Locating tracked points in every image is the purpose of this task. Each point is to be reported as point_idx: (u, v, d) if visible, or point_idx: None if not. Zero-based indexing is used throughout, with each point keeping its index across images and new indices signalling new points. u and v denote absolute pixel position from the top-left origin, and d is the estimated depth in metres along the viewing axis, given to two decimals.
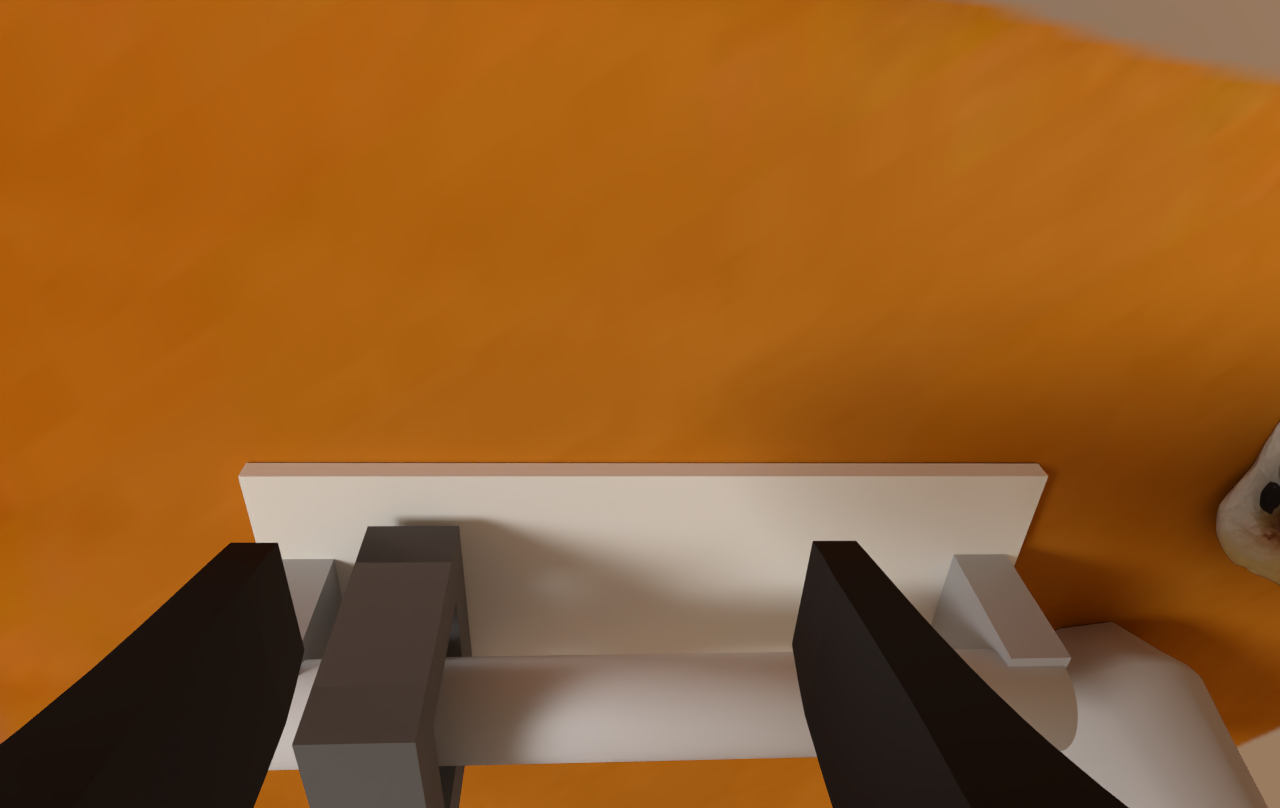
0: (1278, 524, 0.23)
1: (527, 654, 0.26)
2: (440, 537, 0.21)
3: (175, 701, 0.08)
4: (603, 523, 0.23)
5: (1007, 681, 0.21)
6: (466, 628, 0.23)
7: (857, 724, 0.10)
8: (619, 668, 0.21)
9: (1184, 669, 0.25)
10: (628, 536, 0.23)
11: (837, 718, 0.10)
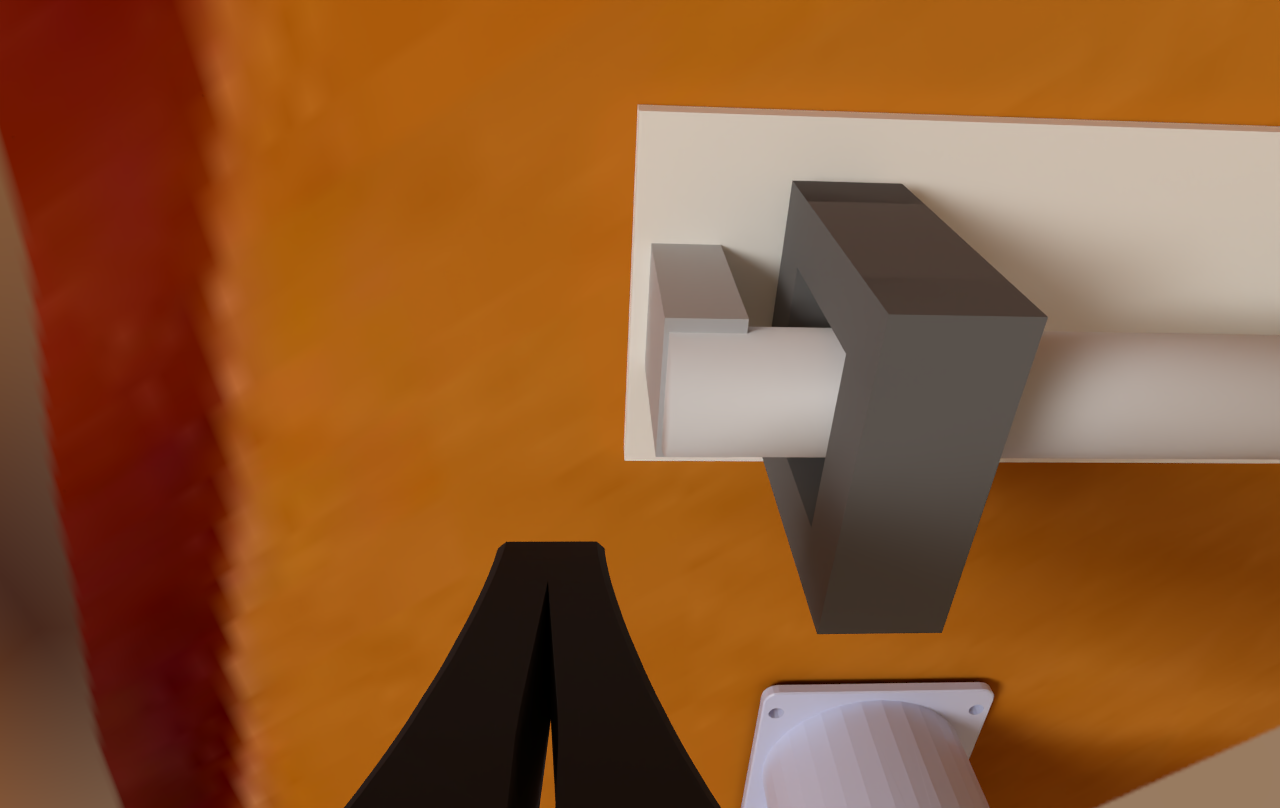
0: None
1: None
2: (889, 189, 0.17)
3: (527, 695, 0.08)
4: (1055, 199, 0.19)
5: None
6: None
7: (555, 730, 0.09)
8: None
9: None
10: (1079, 220, 0.19)
11: (553, 723, 0.10)
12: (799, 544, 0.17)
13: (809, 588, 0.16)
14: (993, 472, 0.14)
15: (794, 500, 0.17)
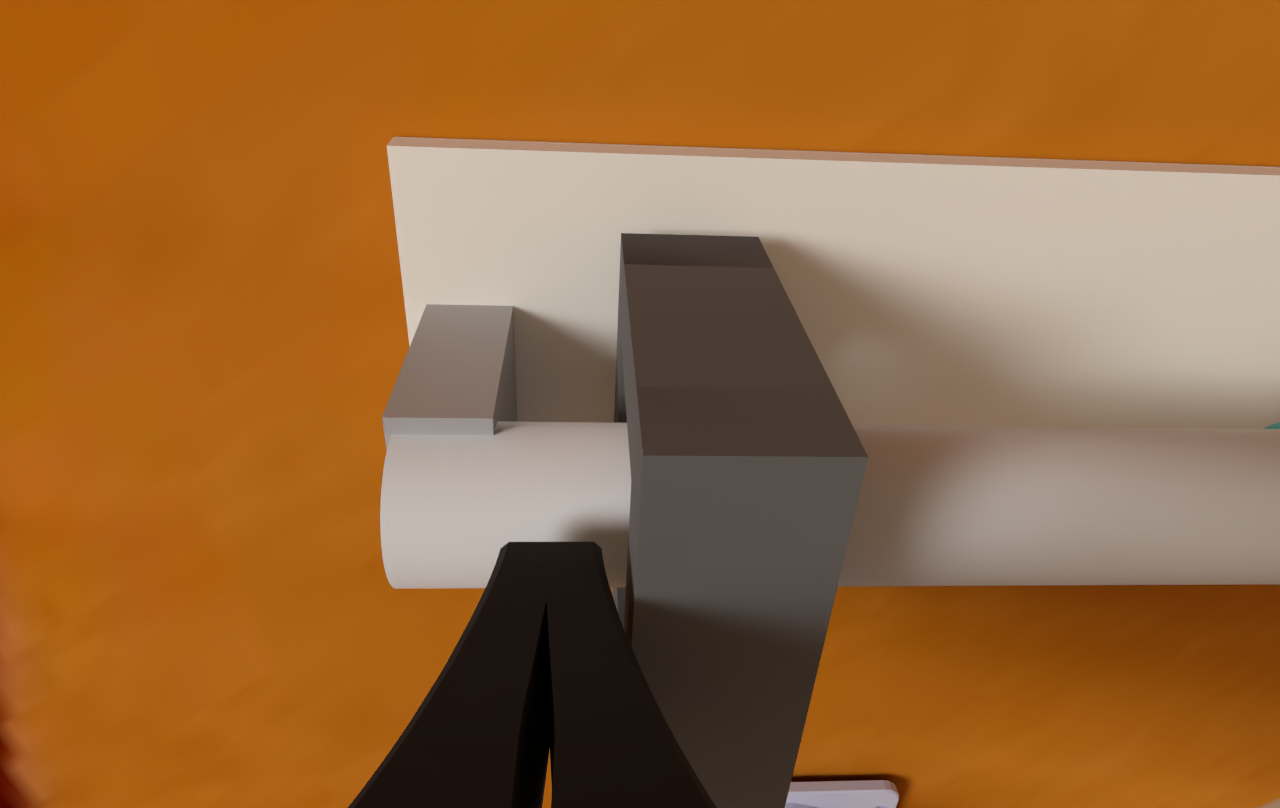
0: None
1: None
2: (738, 246, 0.14)
3: (530, 695, 0.08)
4: (920, 252, 0.15)
5: None
6: None
7: (552, 730, 0.09)
8: (1000, 436, 0.13)
9: None
10: (951, 276, 0.16)
11: (550, 724, 0.10)
12: None
13: None
14: (820, 642, 0.10)
15: None
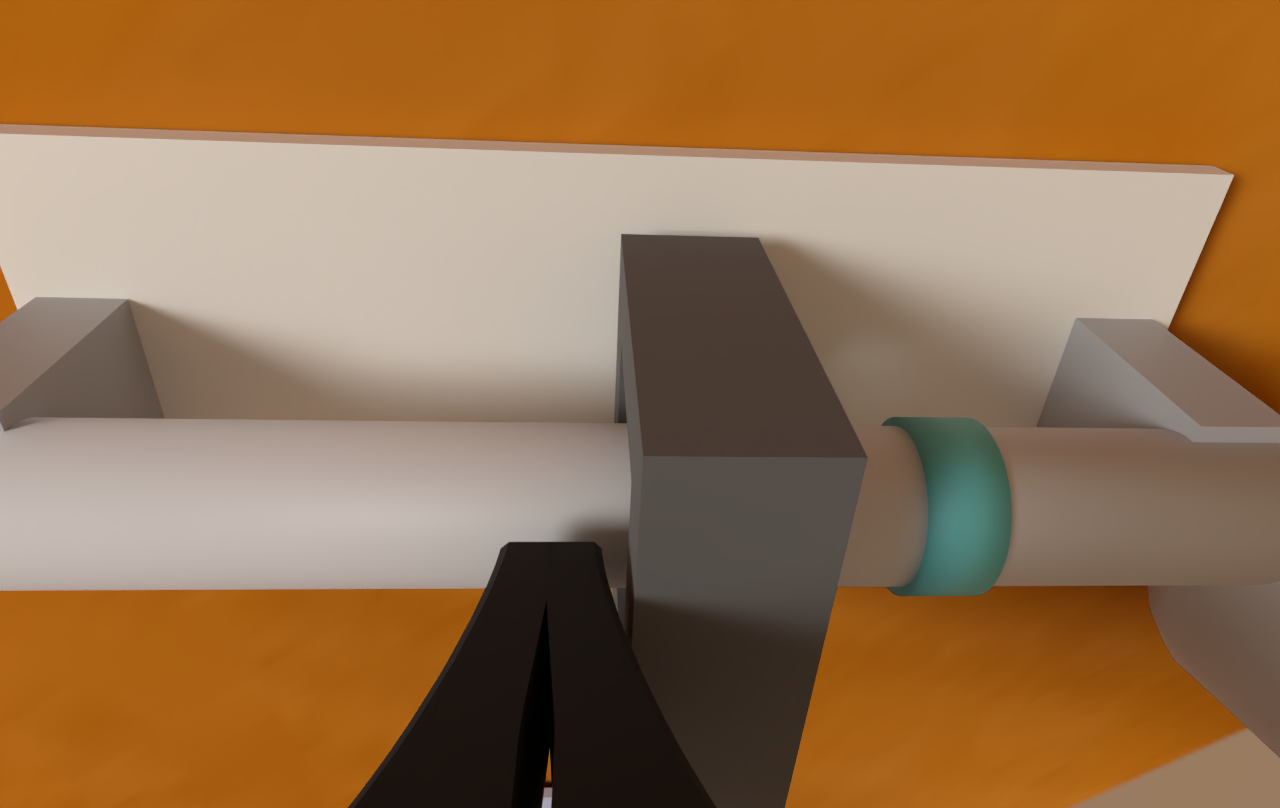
0: None
1: None
2: (738, 246, 0.14)
3: (531, 696, 0.08)
4: (545, 244, 0.15)
5: (1197, 460, 0.13)
6: None
7: (552, 730, 0.09)
8: (560, 432, 0.13)
9: None
10: (585, 268, 0.15)
11: (550, 723, 0.10)
12: None
13: None
14: (820, 643, 0.10)
15: None
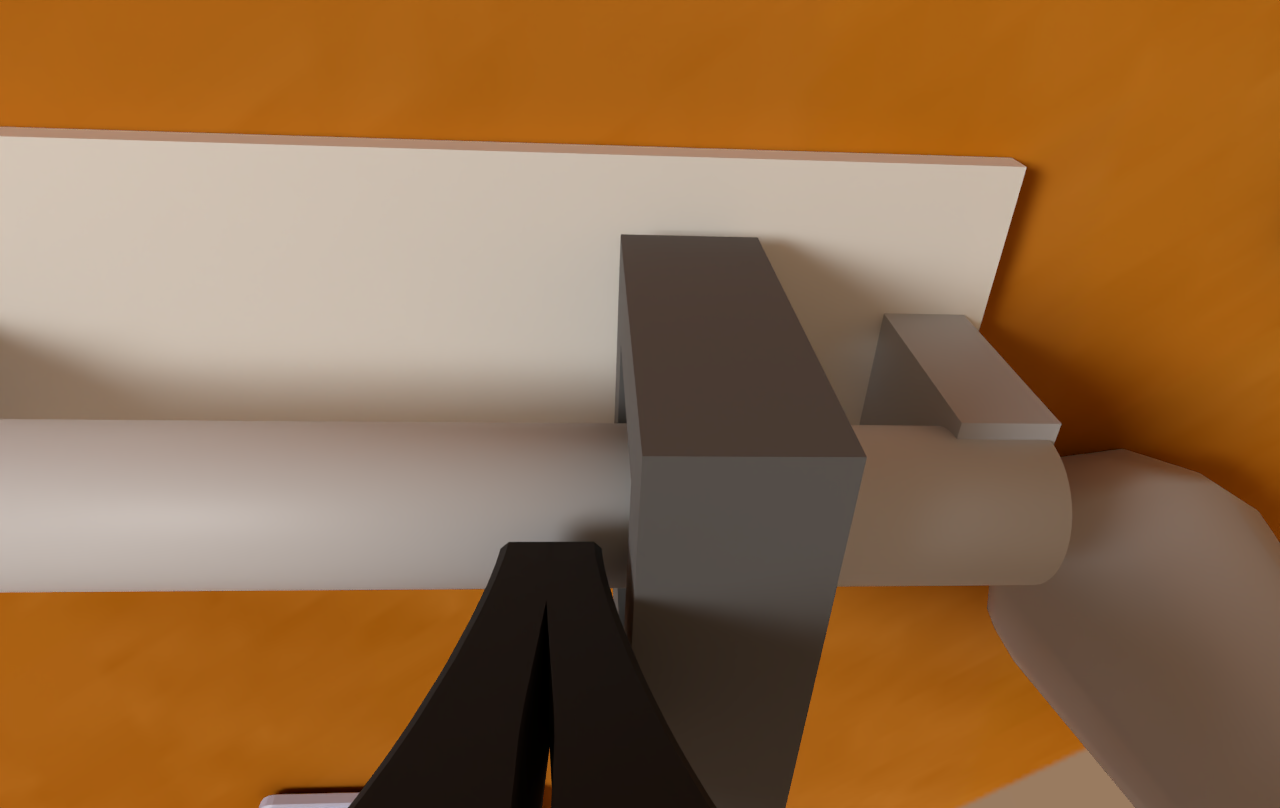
0: None
1: None
2: (737, 246, 0.14)
3: (530, 695, 0.08)
4: (325, 239, 0.15)
5: (954, 457, 0.12)
6: None
7: (552, 730, 0.09)
8: (300, 431, 0.12)
9: (1233, 495, 0.16)
10: (370, 265, 0.15)
11: (550, 723, 0.10)
12: None
13: None
14: (820, 642, 0.10)
15: None
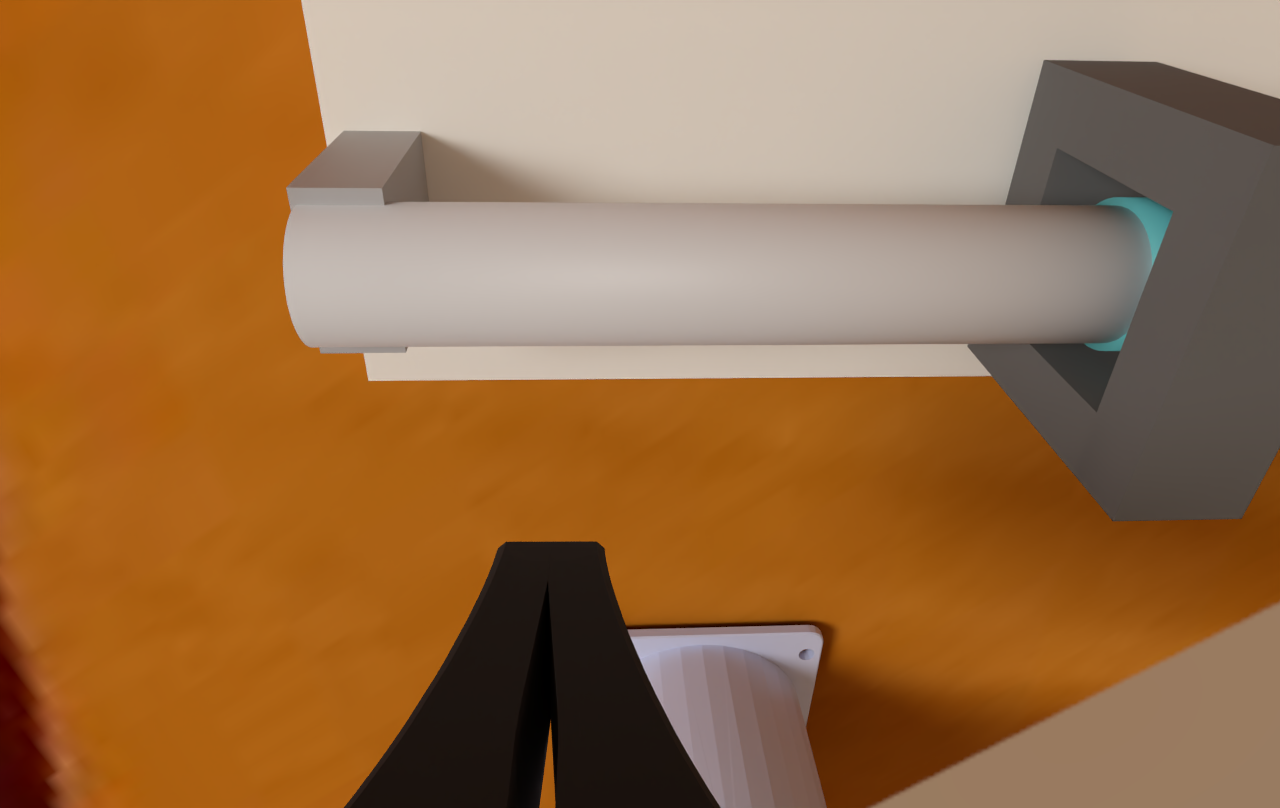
0: None
1: None
2: (1149, 65, 0.16)
3: (527, 696, 0.08)
4: (781, 73, 0.17)
5: None
6: None
7: (555, 730, 0.09)
8: None
9: None
10: (812, 97, 0.17)
11: (553, 723, 0.10)
12: (1069, 436, 0.16)
13: (1094, 477, 0.15)
14: None
15: (1056, 393, 0.16)
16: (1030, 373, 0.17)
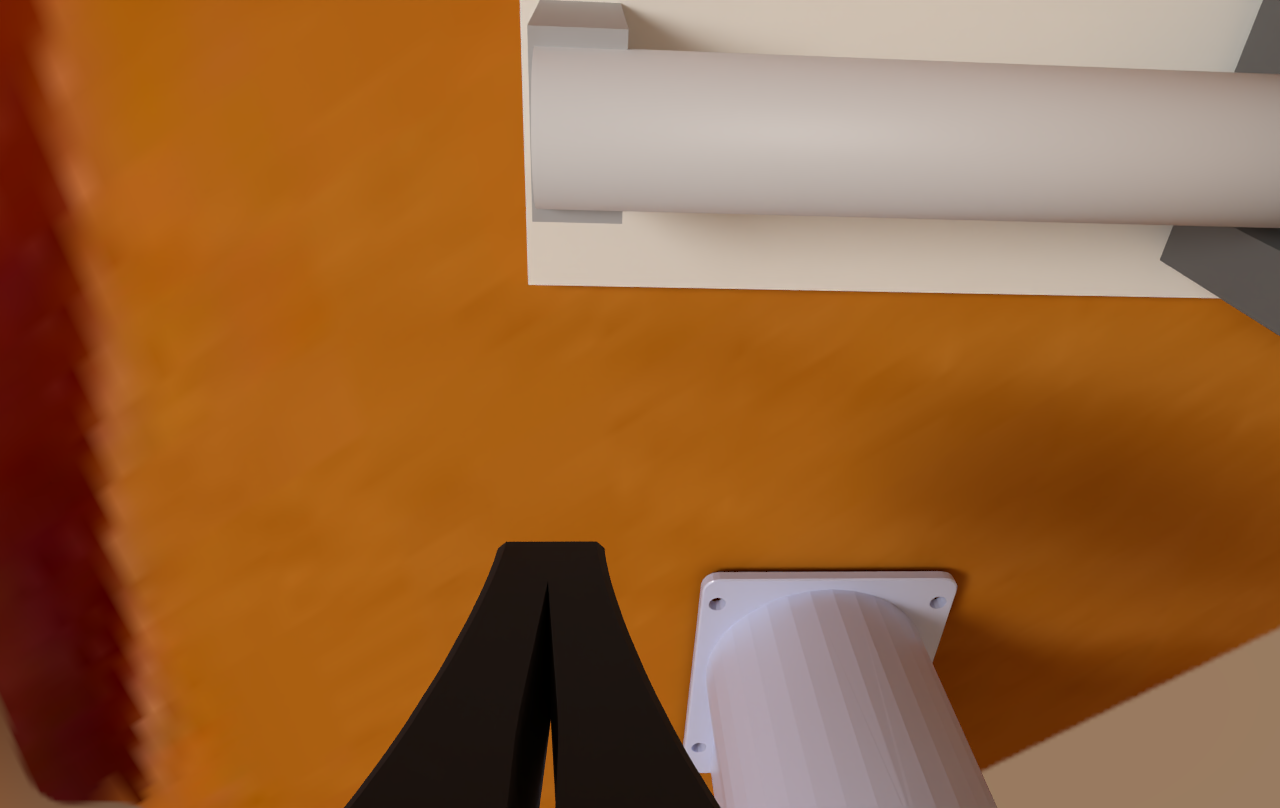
0: None
1: None
2: None
3: (527, 696, 0.08)
4: None
5: None
6: None
7: (554, 730, 0.09)
8: None
9: None
10: None
11: (553, 723, 0.10)
12: None
13: None
14: None
15: None
16: (1260, 272, 0.16)
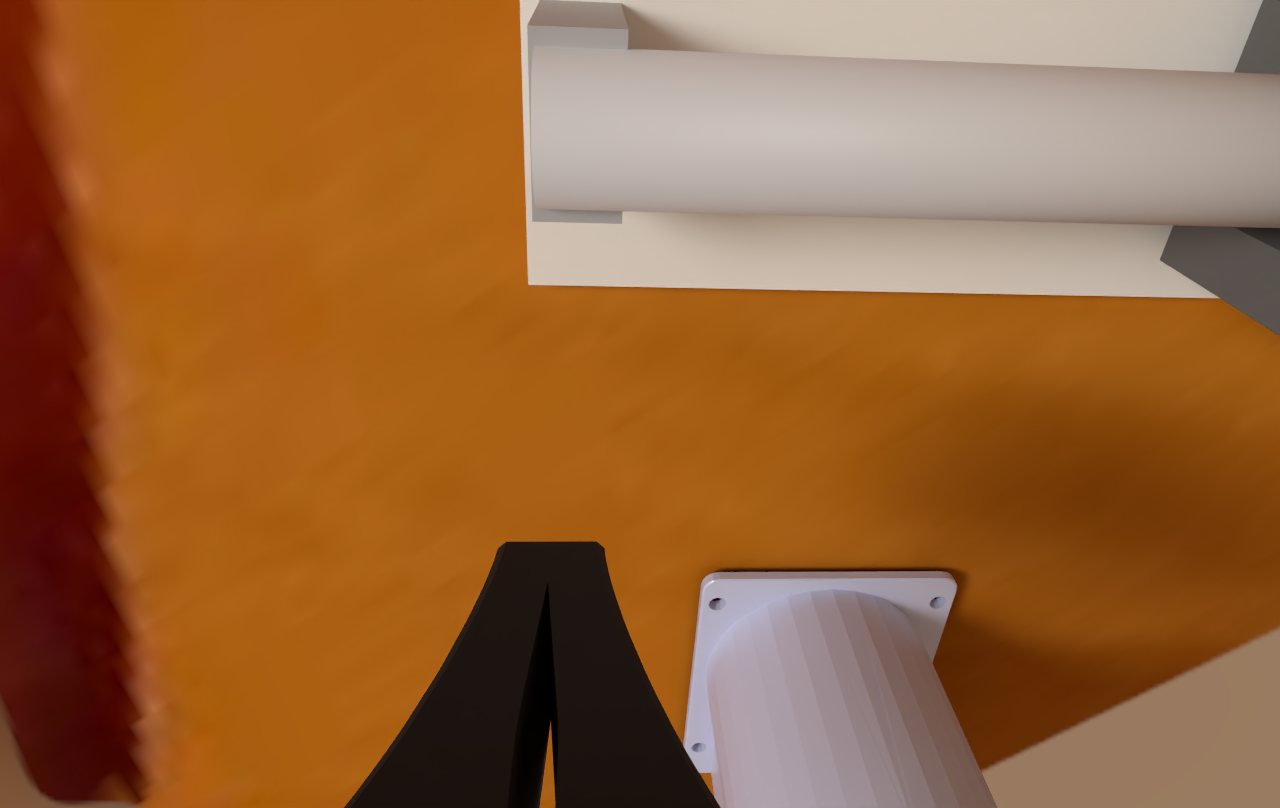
0: None
1: None
2: None
3: (527, 696, 0.08)
4: None
5: None
6: None
7: (554, 730, 0.09)
8: None
9: None
10: None
11: (553, 723, 0.10)
12: None
13: None
14: None
15: None
16: (1260, 272, 0.16)
